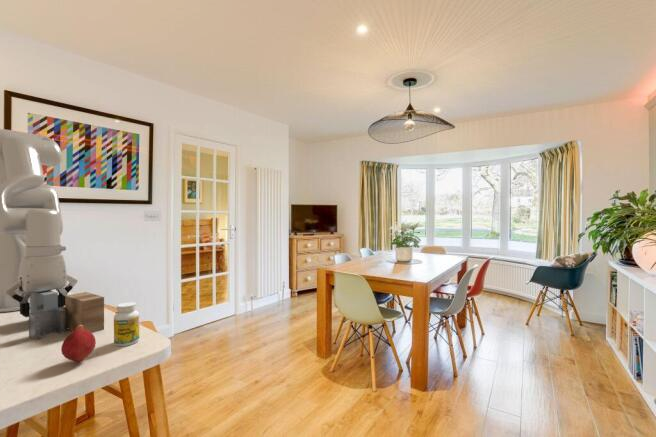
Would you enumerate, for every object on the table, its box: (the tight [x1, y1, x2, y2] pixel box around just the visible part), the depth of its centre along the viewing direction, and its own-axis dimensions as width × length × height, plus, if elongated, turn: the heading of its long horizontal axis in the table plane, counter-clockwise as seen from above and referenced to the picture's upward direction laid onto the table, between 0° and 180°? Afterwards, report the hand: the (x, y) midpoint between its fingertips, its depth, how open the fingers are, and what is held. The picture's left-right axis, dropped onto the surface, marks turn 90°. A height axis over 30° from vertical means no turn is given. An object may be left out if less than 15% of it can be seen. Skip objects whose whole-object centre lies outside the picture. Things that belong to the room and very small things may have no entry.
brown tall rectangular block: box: [65, 291, 105, 334], centre depth 88 cm, size 10×5×9 cm, turn 60°
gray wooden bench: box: [28, 306, 68, 341], centre depth 85 cm, size 4×9×6 cm, turn 150°
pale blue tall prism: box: [30, 290, 59, 313], centre depth 93 cm, size 10×4×9 cm, turn 60°
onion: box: [60, 325, 96, 363], centre depth 69 cm, size 6×6×8 cm
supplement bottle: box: [113, 301, 140, 347], centre depth 80 cm, size 5×5×10 cm
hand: (43, 311), depth 93 cm, fingers open, 7 cm apart
